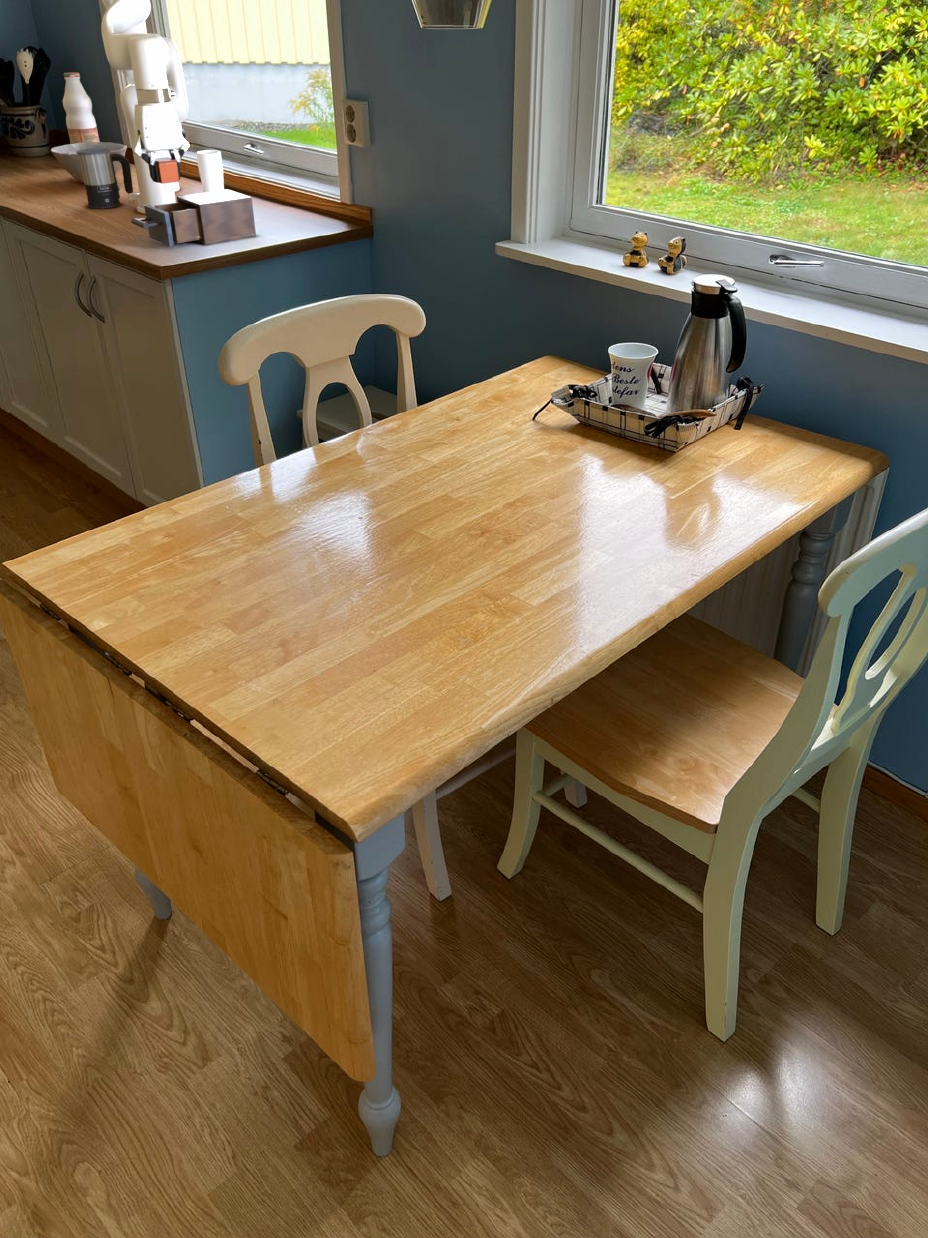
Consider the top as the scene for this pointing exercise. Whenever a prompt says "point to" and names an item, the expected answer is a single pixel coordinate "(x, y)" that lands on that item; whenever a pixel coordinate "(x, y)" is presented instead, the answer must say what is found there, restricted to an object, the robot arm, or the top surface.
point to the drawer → (171, 223)
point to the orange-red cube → (167, 170)
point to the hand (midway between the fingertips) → (166, 179)
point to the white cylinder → (210, 170)
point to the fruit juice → (78, 111)
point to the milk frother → (103, 176)
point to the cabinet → (223, 215)
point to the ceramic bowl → (71, 158)
